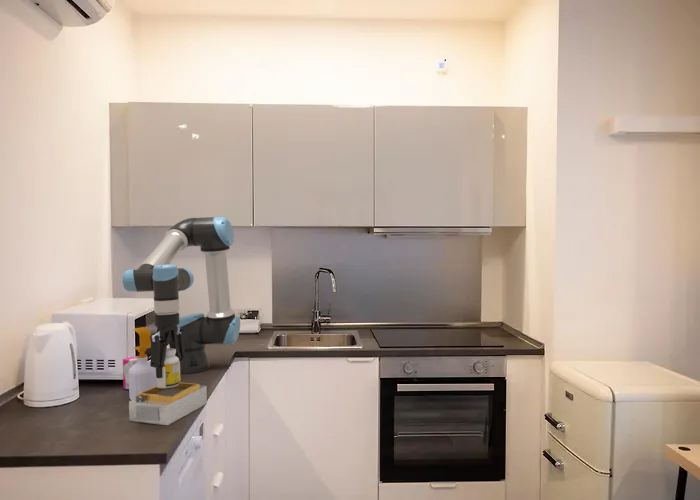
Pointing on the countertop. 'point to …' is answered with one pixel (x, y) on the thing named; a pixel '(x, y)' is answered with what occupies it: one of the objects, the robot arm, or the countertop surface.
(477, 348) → the countertop surface
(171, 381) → the pill bottle
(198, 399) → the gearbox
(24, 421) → the countertop surface
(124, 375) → the supplement box
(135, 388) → the spray bottle
